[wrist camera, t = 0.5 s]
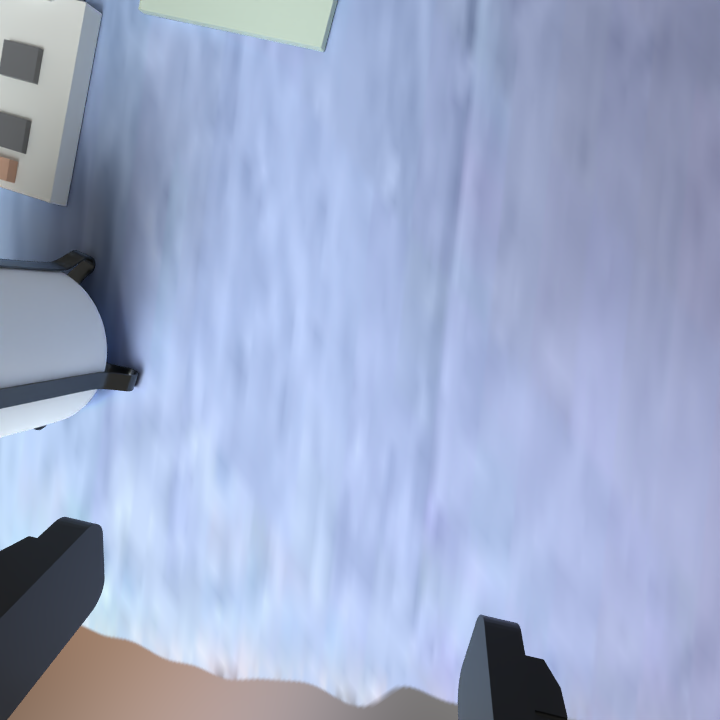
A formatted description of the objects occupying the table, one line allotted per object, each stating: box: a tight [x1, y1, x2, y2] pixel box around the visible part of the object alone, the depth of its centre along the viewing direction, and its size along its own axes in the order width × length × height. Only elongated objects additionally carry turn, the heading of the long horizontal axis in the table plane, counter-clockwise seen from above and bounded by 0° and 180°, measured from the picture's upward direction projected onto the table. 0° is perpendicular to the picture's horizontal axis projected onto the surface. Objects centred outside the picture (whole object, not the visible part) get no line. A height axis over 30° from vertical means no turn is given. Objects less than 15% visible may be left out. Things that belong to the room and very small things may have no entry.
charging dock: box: [0, 0, 102, 206], centre depth 38 cm, size 22×9×2 cm, turn 162°
